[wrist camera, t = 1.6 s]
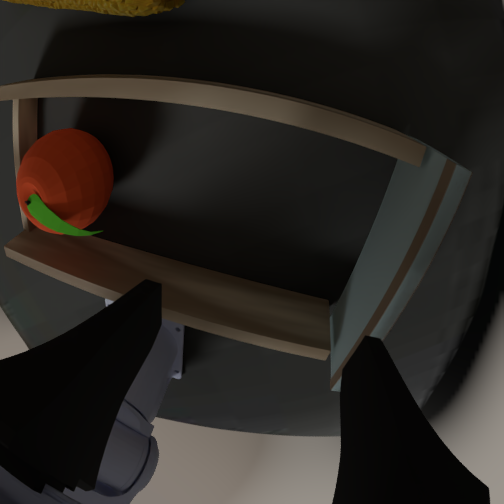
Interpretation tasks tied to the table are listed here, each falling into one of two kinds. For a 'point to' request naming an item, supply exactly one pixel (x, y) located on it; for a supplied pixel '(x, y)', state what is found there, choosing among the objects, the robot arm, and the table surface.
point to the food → (109, 6)
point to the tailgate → (396, 252)
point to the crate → (172, 271)
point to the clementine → (65, 182)
